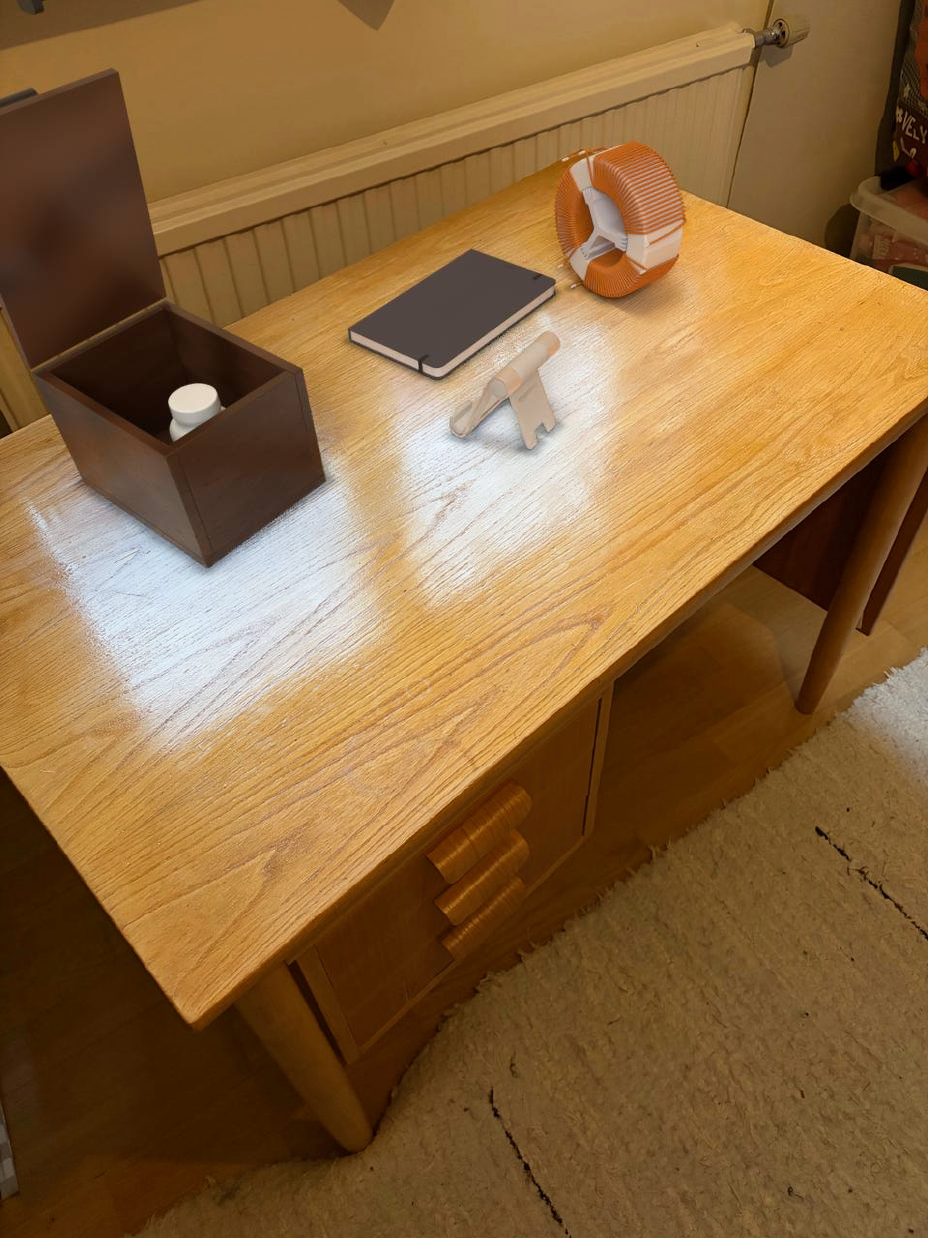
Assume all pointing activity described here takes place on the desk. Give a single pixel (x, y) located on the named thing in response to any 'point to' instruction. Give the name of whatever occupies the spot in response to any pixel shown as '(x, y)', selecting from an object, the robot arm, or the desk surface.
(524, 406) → the tablet stand
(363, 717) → the desk surface
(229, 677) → the desk surface
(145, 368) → the chest
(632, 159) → the coil
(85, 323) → the lid
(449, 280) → the notebook
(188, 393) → the pill bottle
